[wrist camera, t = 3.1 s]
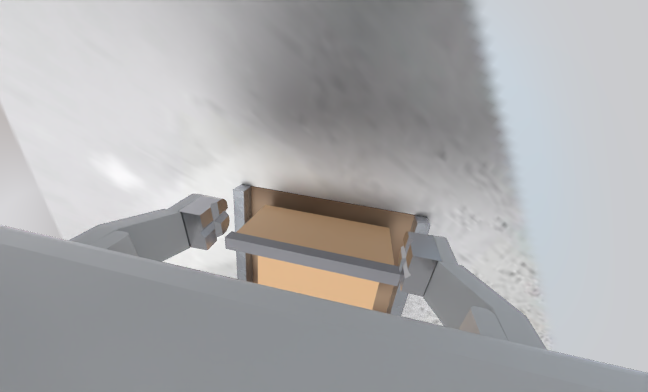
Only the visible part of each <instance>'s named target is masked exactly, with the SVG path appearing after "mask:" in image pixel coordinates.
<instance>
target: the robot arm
mask: <svg viewBox="0 0 648 392" xmlns="http://www.w3.org/2000/svg"><path fill="white" fill-rule="evenodd" d="M227 208H228V207H227V202H226V200H224V199H221V198H216V197H211V196H206V195H201V194H191V195H189V196H188V197H186V198H184V199H183V200H181V201H180V202H178V203H176V204H175V205H173V206H172V207H170V208H168V209H161V210H157V211H153V212H149V213H145V214H141V215H137V216H133V217H129V218H125V219H121V220H117V221H113V222H109V223H104V224H100V225H97V226H95V227H93V228H91V229H90V230H88V231H86V232H84V233H82V234H80V235H78V236H76V237H74V238H72V239H71V240H64V239H60V238H56V237H51V236H47V235H42V234H38V233H33V232H29V231H25V230H21V229H16V228H12V227H7V226H3V225H0V392H648V373H646V372H642V371H638V370H634V369H629V368H624V367H620V366H616V365H611V364H607V363H603V362H598V361H594V360H590V359H585V358H581V357H576V356H572V355H568V354H563V353H559V352H555V351H550V350H547V349H546V347H545V346H544V344H543V342H542V341H541V339H540V337H539V336H538V334H537V333H536V331H535V329H534V328H533V326H532V325H531V323H530V321H529V320H528V318H527V317H526V316H525V315H524V314H523V313H522V312H520V311H519V310H518V309H517V308H515V307H514V306H513V305H511V304H510V303H509V302H508V301H506V300H505V299H504V298H503V297H501V296H500V295H499V294H498V293H496V292H495V291H494V290H493V289H491V288H490V287H489V286H488V285H486V284H485V283H484V282H482V281H481V280H480V279H479V278H477V277H476V276H475V275H474V274H472V273H471V272H470V271H469V270H467V269H466V268H465V267H464V266H462V265H458V263H457V261H456V259H455V256H454V254H453V252H452V250H451V247H450V245H449V243H448V240H447V238H445V237H442V236H435V235H427V234H421V233H414V232H408V231H406V233H405V235H404V238H403V241H404V246H402V247H401V248H400V252H399V258H398V270H399V271H400V272H401V274H400V278H399V279H400V288H401V291H402V292H406V293H410V294H414V295H418V296H423V298H424V299H425V301H426V302H427V303H428V305H429V306H430V307H431V309H432V310H433V312H434V313H435V314H436V316H437V317H438V318H439V320H440V321H441V322H442V324H443V325H444V326H441V325H436V324H432V323H428V322H423V321H419V320H415V319H410V318H406V317H401V316H397V315H392V314H388V313H383V312H379V311H375V310H370V309H366V308H362V307H357V306H353V305H349V304H344V303H340V302H336V301H331V300H327V299H322V298H318V297H314V296H309V295H305V294H301V293H296V292H292V291H288V290H283V289H279V288H274V287H270V286H266V285H261V284H257V283H252V282H248V281H244V280H239V279H235V278H230V277H226V276H222V275H217V274H213V273H208V272H204V271H200V270H195V269H191V268H187V267H182V266H178V265H173V264H169V263H165V262H162V261H164V260H166V259H168V258H170V257H172V256H174V255H176V254H178V253H180V252H182V251H184V250H186V249H188V248H190V247H193V248H199V249H204V250H208V249H209V248H210V247H211V246H212V245H213V244H214V243H215V242H216V241H217V237H218V236H221V235H223V234H224V233H225V232H226V230H227V228H228V226H229V215H228V214H227V213H226V209H227Z"/></svg>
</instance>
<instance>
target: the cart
mask: <svg viewBox="0 0 648 392" xmlns="http://www.w3.org/2000/svg"><path fill="white" fill-rule="evenodd" d="M225 245H226V249H230V250H235V251H239V252H244V253H249V254H253V255H258V284H261V285H266V286H270V287H274V288H279V289H283V290H288V291H292V292H296V293H301V294H305V295H309V296H314V297H318V298H322V299H327V300H331V301H336V302H340V303H344V304H349V305H353V306H357V307H362V308H366V309H370V310H372V309H373V305H374V301H375V297H376V293H377V289H378V285H379V282H380V283H384V284H389V285H394V286H398V283H399V280H400V279H399V278H400V274H401V272H400V271H399V270H398V266H395V265H394V258H393V251H392V244H391V236H390V229H389V228H387V227H382V226H376V225H371V224H366V223H360V222H355V221H350V220H344V219H339V218H334V217H328V216H323V215H318V214H312V213H307V212H302V211H296V210H291V209H286V208H282V207H275V206H270V205H265V206H264V207H263V208H262V209H260V210H259V211H258V212H257V213H256V214H255V215H254V216H253V217H252V218H251V219H250V220H249V221H248V222H247V223H246V224H244V225H243V226H242V227H241V228H240V229H239V230H238V231H237V232H230V233H229V234H228V235H227V236H226V237H225Z"/></svg>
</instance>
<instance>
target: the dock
mask: <svg viewBox="0 0 648 392" xmlns="http://www.w3.org/2000/svg"><path fill="white" fill-rule="evenodd" d="M233 195H234V216H235V232H237V231H238V230H239V229H240V228H241V227H242V226H243V225H244V224H246V223H247V222H248V221H249V220H250V219H251V218H252V217H253V216H254V215H255V214H256V213H257V212H258V211H259V210H260V209H262V208H263V207H264V206H265V205H270V206H275V207H282V208H286V209H291V210H296V211H302V212H307V213H312V214H318V215H323V216H328V217H334V218H339V219H344V220H350V221H355V222H360V223H366V224H371V225H376V226H382V227H387V228H389V229H390V236H391V244H392V251H393V258H394V265H395V266H398V258H399V252H400V248H401V247H402V246H404V241H403V238H404V235H405V233H406V231H408V232H414V233H421V234H427V235H428V232H429V229H430V223H429V221H428V219H427V217H421V216H415V215H411V214H405V213H400V212H394V211H389V210H383V209H377V208H372V207H366V206H360V205H355V204H349V203H343V202H338V201H332V200H327V199H321V198H315V197H310V196H304V195H298V194H293V193H287V192H281V191H276V190H270V189H265V188H259V187H253V186H246V185H240V186H238V187H237V188H235V189H233ZM236 257H237V277H238V279H239V280H244V281H248V282H252V283H257V284H258V255H253V254H249V253H244V252H239V251H236ZM407 295H408V293H406V292H402V291H401V288H400V280H399V283H398V286H394V285H389V284H384V283H380V282H379V285H378V289H377V293H376V297H375V301H374V305H373V309H372V310H375V311H379V312H383V313H388V314H392V315H397V316H401V314H402V311H403V308H404V305H405V301H406V298H407Z"/></svg>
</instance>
